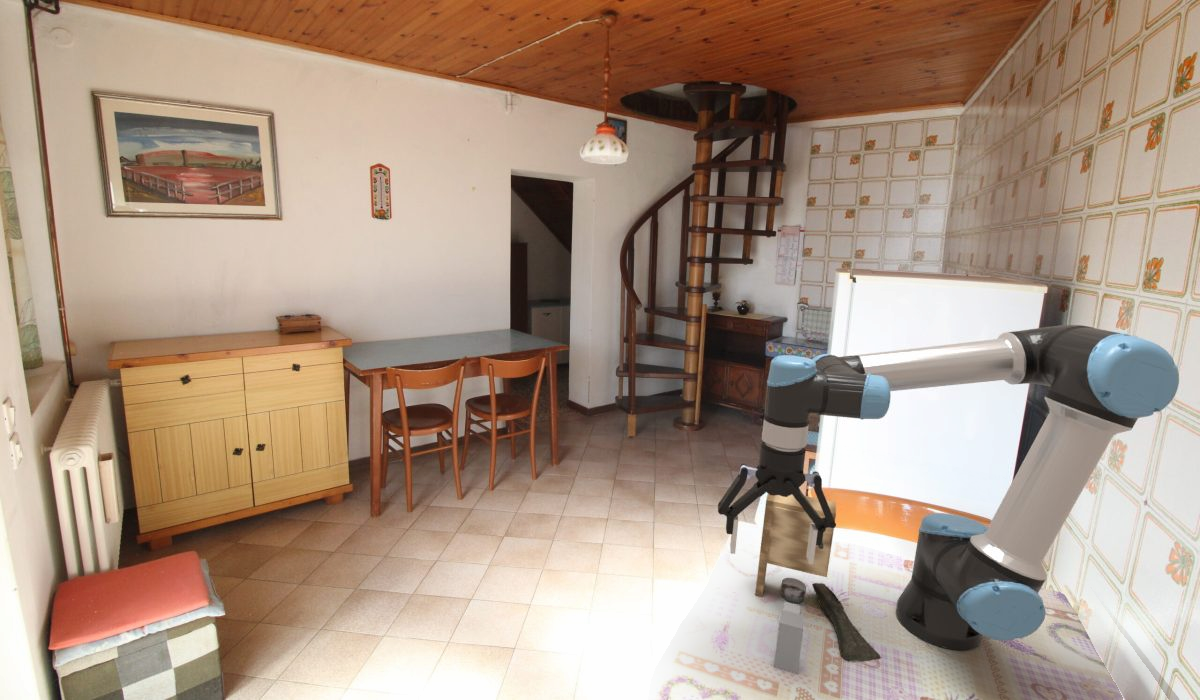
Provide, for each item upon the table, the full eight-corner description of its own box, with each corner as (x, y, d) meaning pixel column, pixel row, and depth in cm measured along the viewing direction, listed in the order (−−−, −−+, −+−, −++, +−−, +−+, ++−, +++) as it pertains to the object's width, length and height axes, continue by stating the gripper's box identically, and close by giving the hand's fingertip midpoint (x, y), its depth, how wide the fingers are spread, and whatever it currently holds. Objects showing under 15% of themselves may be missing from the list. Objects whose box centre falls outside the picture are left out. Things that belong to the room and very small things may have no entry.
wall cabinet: (821, 596, 125) (835, 501, 120) (821, 615, 118) (836, 516, 114) (757, 580, 129) (768, 488, 125) (754, 598, 123) (765, 502, 118)
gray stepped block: (800, 617, 117) (806, 577, 116) (797, 673, 102) (803, 628, 100) (780, 611, 119) (785, 572, 117) (773, 667, 103) (779, 622, 101)
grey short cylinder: (804, 593, 126) (806, 581, 125) (803, 606, 121) (805, 594, 120) (780, 587, 127) (782, 575, 127) (779, 600, 123) (780, 587, 122)
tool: (881, 668, 107) (886, 655, 106) (843, 666, 106) (847, 653, 105) (830, 590, 126) (833, 578, 125) (797, 587, 125) (800, 575, 125)
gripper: (853, 444, 102) (838, 553, 106) (710, 430, 106) (701, 535, 111) (864, 460, 95) (847, 576, 99) (711, 444, 99) (701, 556, 103)
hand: (770, 554), depth 105 cm, fingers open, 13 cm apart
